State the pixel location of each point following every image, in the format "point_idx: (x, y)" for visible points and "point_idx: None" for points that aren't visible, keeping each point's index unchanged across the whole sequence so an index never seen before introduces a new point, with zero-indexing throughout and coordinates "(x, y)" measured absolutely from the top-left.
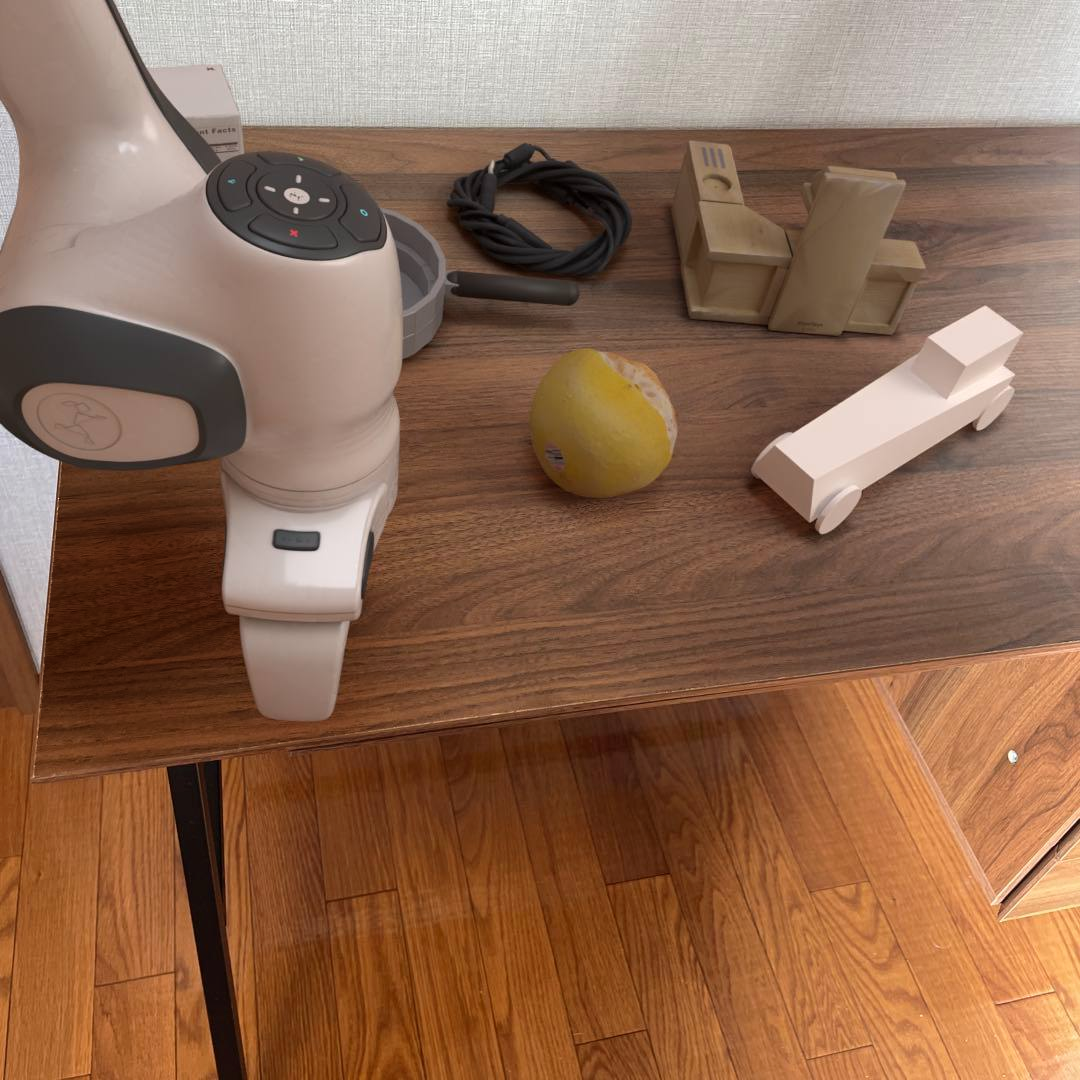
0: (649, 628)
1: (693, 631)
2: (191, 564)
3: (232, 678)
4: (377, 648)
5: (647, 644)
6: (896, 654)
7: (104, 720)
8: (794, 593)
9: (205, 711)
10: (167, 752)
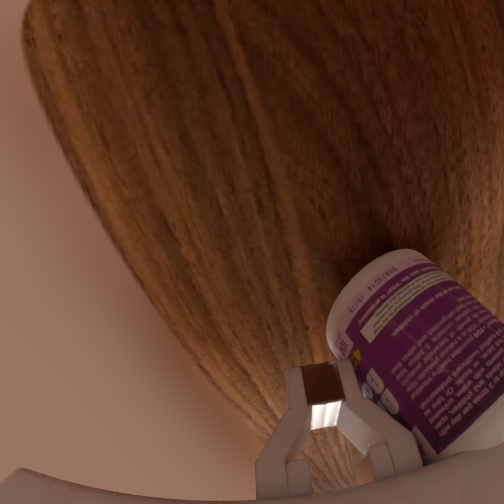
0: (333, 458)
1: (330, 466)
2: (456, 82)
3: (227, 199)
4: (311, 354)
5: (320, 459)
6: (315, 493)
7: (93, 24)
8: (354, 477)
9: (151, 176)
10: (67, 148)
